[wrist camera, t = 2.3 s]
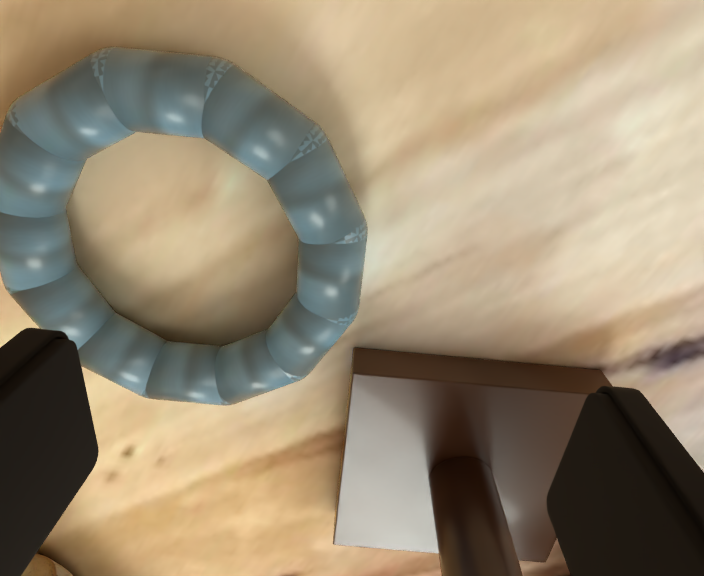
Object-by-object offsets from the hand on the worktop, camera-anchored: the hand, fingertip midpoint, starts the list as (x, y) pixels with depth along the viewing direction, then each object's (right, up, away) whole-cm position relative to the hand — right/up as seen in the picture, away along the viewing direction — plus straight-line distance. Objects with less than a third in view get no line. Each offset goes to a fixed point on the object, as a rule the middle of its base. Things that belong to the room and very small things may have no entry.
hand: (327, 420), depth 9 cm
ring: (-5, +4, +5) cm, 8 cm away
